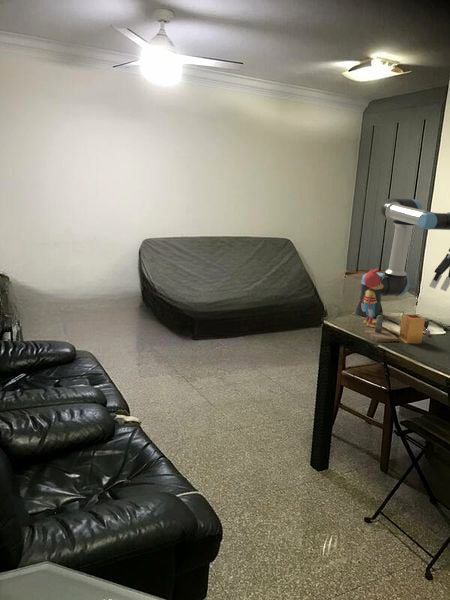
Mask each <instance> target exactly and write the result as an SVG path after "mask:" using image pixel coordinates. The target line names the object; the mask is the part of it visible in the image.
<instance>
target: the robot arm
mask: <svg viewBox="0 0 450 600" xmlns="http://www.w3.org/2000/svg"><path fill="white" fill-rule="evenodd" d="M423 209H424V208H423V206H422V204H421V202H420V201H419V200H418V199H413V198H388V199H386V200H385V201H383V202H382V204H381V205H380V208H379V211H380V216H381V217H382V218H383V219H385V220H386V221H393V225H394V227H395V228H394V235H393V239H392V246H391V249H390V250H391V251H390V257H389V261H388V268H387V269H386V270H385V271H384V273H383V272H377V271H376V273H377V274H378V275H379V276H380V279H381V277H382V280H381V281H382V283H381V284H383V288H382V289H378V290H374V289H371V290H372V291H373V292H374V293H375V296H376V300H377V303H375V316H374V317H373V318H377V316H378V315H382V316H383V315H384V314H383V313H384V311H383V310H384V309H383V306H382V297H399V296H404V295H405V294H407V292H408V291H409V288H410V284H411V283H410V279H409V277H408V275H407V272H406V271H405V270H406V269H405V268H406V265H407V264H406V263H407V258H408V252H409V246H410V243H411V242H410V241H411V237H412V236H411V235H412V231H413V228H415V226H418V227H419V228H420V229H422V230H429V231H430V230H439V231H441V230H442V231H450V211H448V212H446V213H445V212H444V213H443V212H442V213H441V212H433V211H428V210H423ZM448 252H449V253H446V255H445V256H444V258H443V259H442V261H441V262H440V263H439V264H438V266H436V268H435V269H434V273H435V274H434V276H433V278H432V280H431V282H430V283H429V287H431V288H432V289H434V290H435V289H436V288H437V286H438V284H439V282H440V280H441V278H442V277H443V276H442V275H443V274H444V273H445V272H446V271H447V269H449V270H448V275H447V276H446V277H445V279H444V281H443V283H442V284H441V287H440V290H442V291H444V292H447V290H448V288H449V287H450V248H449V249H448ZM367 273H368V272H366V273H364V274H363V275H362V277H361V282H360V291H359V300H358V302H357V305H356V306H355V309H354V314H355V315H357V316H358V315H359V316H361V317H365V318H367V314H366V312H363V311H362V307H361V305H362V299H363V297H364V295H365V292H366V291H367V290H369V287H368V286H366V285H365V282H364V277H365V275H366V274H367ZM364 303H365V302H364Z"/></svg>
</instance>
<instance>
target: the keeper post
mask: <svg viewBox="0 0 450 600" xmlns="http://www.w3.org/2000/svg"><path fill="white" fill-rule="evenodd" d="M375 320H376V327H375V328H373V327H369V328H365V327H364V328H362V332H363V333H364V334H366V335H367V336H368V337H369V338H370V339H372V340H374V341H375V342H376V343H378V342H380V343H381V342H383V343H386V342H387V343H391V341H392V343H394V342H393V341H396V342H397V341H400V339H399V337H397V336H396V335H394V334H393V333H391V332H390V331H388V330H387V329H385V328H383V323H384V316H383V315H378V316H377V317H376V319H375ZM396 342H395V343H396ZM397 343H398V342H397Z"/></svg>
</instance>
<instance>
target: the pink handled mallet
mask: <svg viewBox="0 0 450 600" xmlns="http://www.w3.org/2000/svg"><path fill="white" fill-rule="evenodd" d="M429 324H430V321H429V320H425V323H424V329H423V332H424V334H425V336H427V338H429V337H430V338H431V333H430V331H429V330H428V328H429ZM426 329H427V330H426Z"/></svg>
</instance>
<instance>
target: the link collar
mask: <svg viewBox="0 0 450 600" xmlns="http://www.w3.org/2000/svg"><path fill="white" fill-rule="evenodd" d="M401 314H402V313H401ZM425 321H426V318H424V317H423V316H421V315H419V314H414V313H412V314H410V313H407V314H402V315H401V321H400V328H399V336H398V338H399V340H401V341H402V342H404V343H406V344H422V341H423V336H424V323H425Z"/></svg>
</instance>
